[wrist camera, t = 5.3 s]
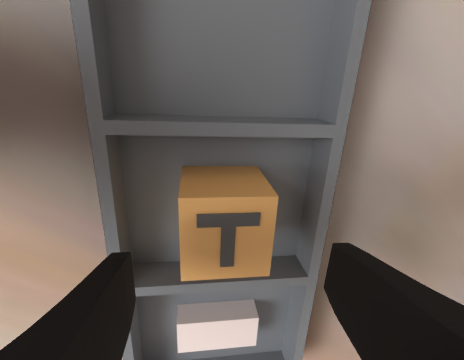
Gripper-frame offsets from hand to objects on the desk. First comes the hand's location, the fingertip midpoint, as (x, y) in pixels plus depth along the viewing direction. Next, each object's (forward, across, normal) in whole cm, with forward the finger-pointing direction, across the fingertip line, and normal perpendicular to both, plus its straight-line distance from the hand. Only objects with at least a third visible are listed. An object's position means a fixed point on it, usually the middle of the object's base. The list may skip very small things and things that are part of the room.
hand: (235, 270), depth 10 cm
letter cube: (+6, 0, 0) cm, 6 cm away
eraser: (+6, 0, +9) cm, 10 cm away
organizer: (+6, 0, 0) cm, 6 cm away
